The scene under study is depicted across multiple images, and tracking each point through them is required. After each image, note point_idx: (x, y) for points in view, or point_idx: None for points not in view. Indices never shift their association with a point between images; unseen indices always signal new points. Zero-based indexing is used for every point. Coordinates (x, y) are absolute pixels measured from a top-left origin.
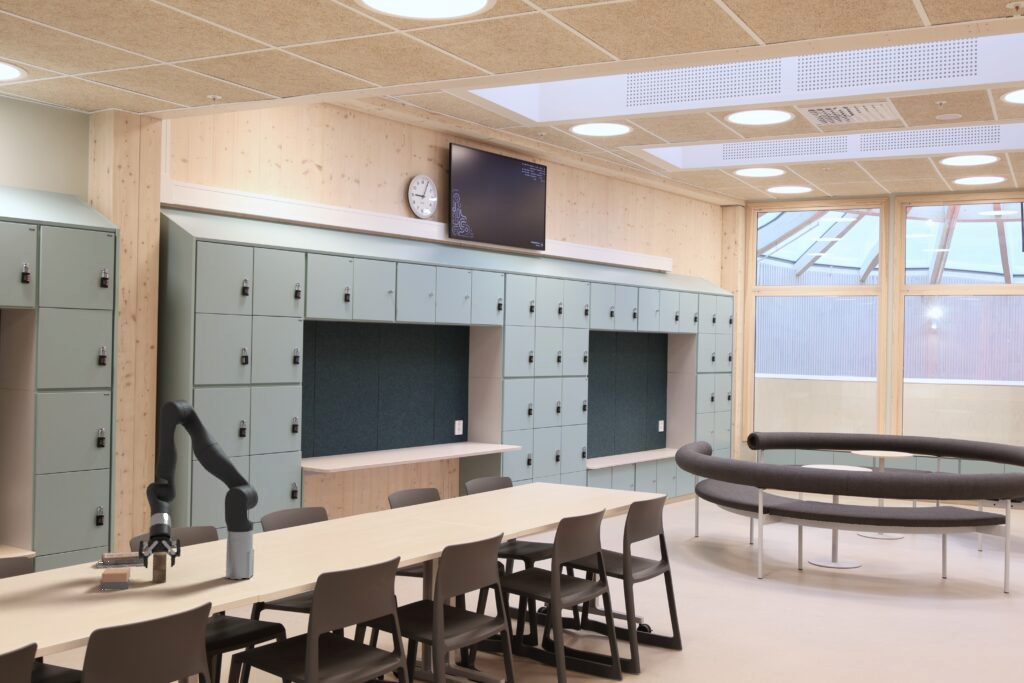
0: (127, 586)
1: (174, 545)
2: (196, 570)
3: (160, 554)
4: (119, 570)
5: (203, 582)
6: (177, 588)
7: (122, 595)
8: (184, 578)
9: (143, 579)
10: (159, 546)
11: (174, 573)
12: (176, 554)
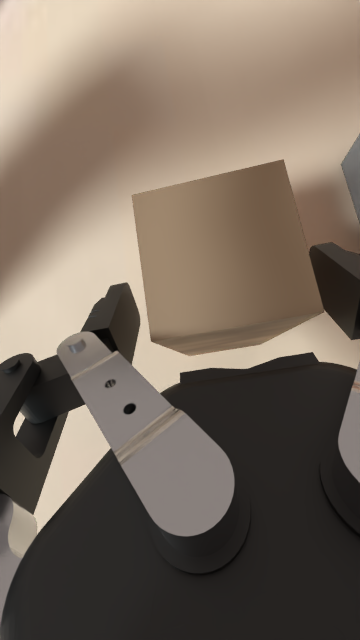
0: (352, 152)
1: (20, 512)
2: None
3: (198, 184)
4: None
5: (8, 280)
6: (111, 175)
7: (331, 56)
8: None
9: None
10: (269, 415)
11: None
12: (56, 357)
